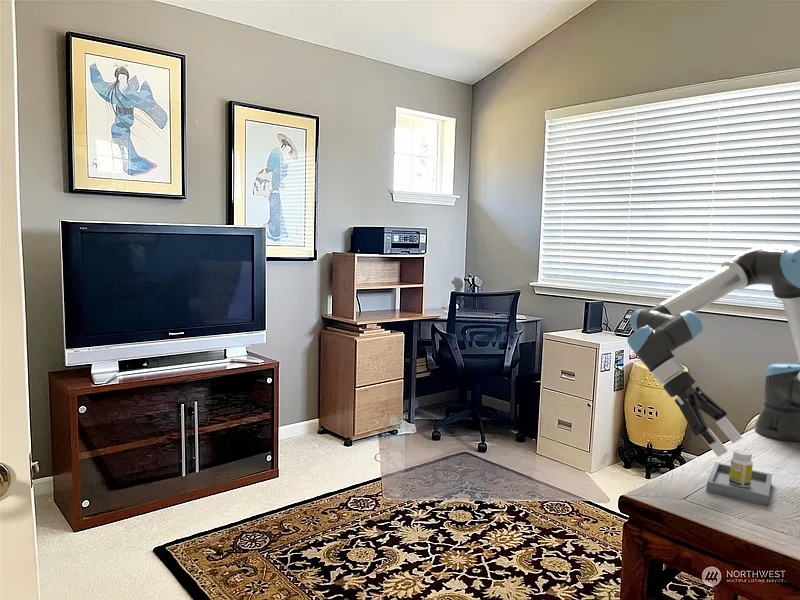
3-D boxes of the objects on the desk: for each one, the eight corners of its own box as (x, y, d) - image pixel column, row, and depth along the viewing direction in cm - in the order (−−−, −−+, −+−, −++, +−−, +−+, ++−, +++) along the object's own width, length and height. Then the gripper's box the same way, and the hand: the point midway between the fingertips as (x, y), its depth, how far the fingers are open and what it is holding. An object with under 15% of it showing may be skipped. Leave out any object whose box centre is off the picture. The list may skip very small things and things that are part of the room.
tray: (714, 470, 160) (715, 462, 160) (770, 483, 153) (772, 474, 153) (706, 491, 147) (707, 481, 147) (767, 506, 140) (768, 495, 140)
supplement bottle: (747, 481, 152) (750, 450, 151) (752, 489, 147) (756, 456, 146) (726, 478, 153) (729, 447, 152) (731, 486, 148) (734, 454, 147)
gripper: (678, 378, 170) (731, 442, 162) (645, 394, 152) (703, 467, 143) (699, 363, 166) (755, 428, 157) (668, 377, 148) (729, 452, 139)
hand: (730, 447), depth 150 cm, fingers open, 13 cm apart
